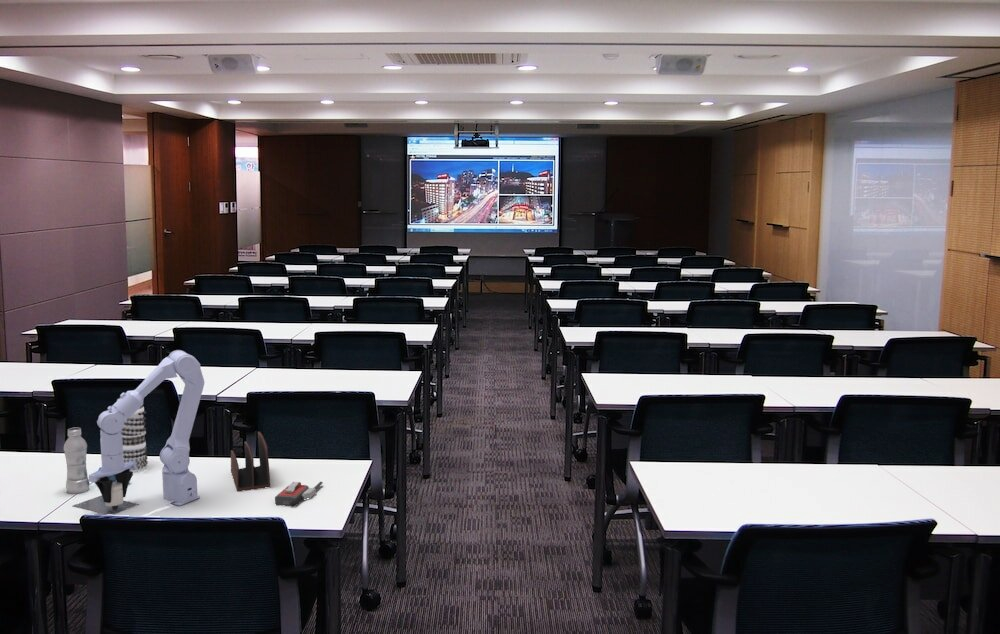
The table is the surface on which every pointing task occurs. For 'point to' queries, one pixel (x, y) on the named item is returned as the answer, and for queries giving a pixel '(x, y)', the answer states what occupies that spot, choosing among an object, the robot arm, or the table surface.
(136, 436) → the decorative candle
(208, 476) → the table surface
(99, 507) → the flat rectangular plate
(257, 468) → the letter holder
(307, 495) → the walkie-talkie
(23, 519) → the table surface
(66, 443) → the plastic bottle
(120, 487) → the knob
